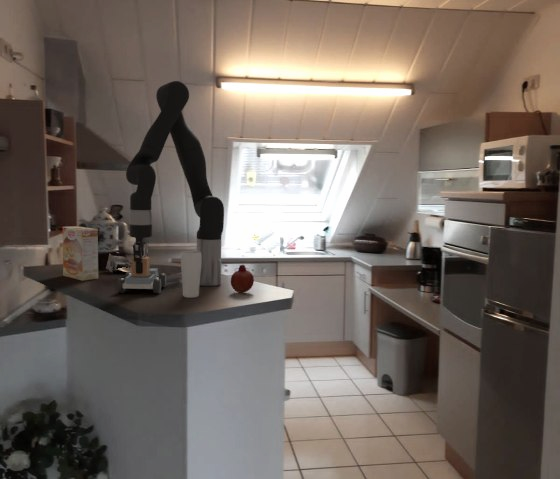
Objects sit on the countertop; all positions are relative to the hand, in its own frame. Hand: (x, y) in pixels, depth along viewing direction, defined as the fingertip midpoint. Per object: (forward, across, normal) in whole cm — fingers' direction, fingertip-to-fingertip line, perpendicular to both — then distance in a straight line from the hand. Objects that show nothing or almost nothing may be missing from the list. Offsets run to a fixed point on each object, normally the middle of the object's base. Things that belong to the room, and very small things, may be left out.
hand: (140, 272), depth 184 cm
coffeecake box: (+7, +26, +29) cm, 40 cm away
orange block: (+1, 0, 0) cm, 1 cm away
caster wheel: (+7, +40, +16) cm, 44 cm away
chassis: (+7, +3, 0) cm, 8 cm away
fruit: (+7, 0, -35) cm, 36 cm away
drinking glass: (+7, -7, -18) cm, 21 cm away
